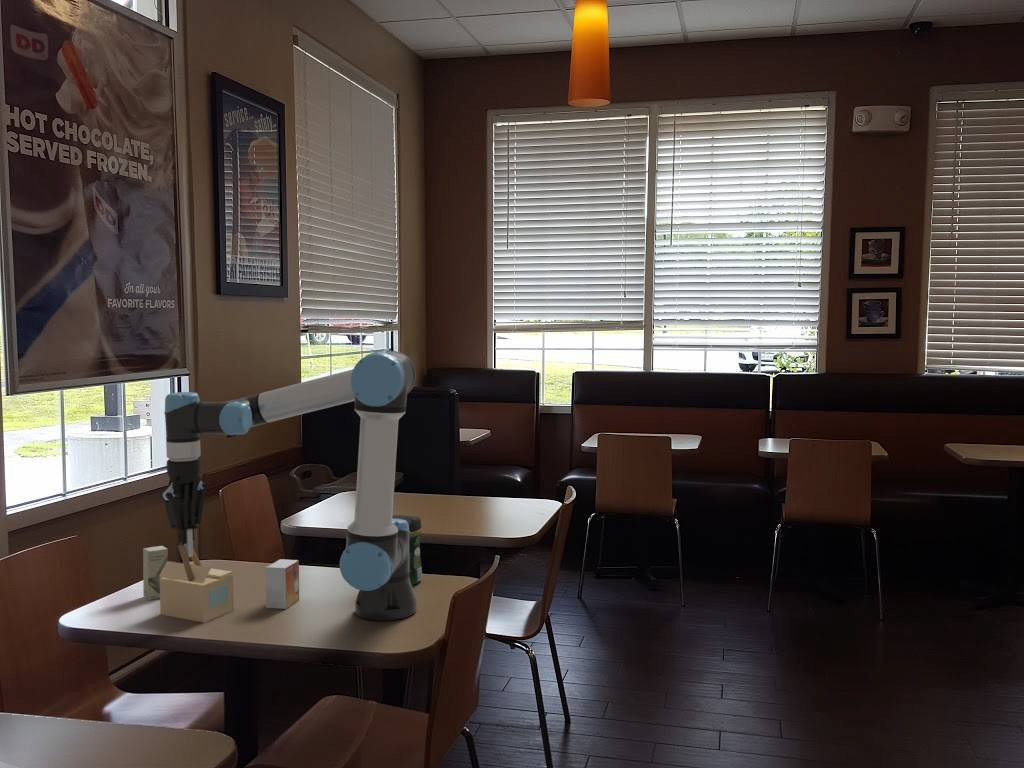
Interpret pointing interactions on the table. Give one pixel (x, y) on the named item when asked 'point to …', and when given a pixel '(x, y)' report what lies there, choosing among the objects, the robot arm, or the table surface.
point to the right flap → (212, 572)
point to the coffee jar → (413, 547)
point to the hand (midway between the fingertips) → (187, 555)
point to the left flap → (184, 569)
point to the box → (153, 570)
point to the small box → (282, 583)
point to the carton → (196, 598)
